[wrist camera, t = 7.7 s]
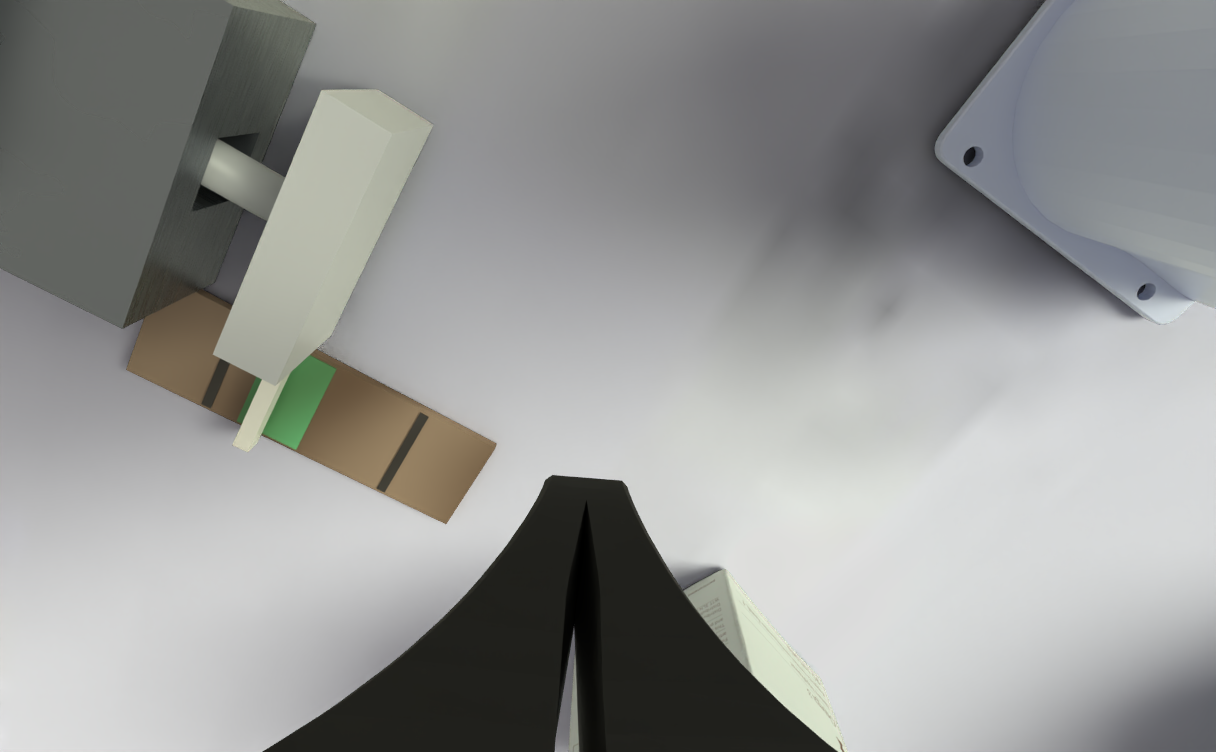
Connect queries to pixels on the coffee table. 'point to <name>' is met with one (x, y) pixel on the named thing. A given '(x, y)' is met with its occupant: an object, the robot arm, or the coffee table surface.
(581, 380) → the coffee table surface
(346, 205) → the gauge plunger
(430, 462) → the gauge scale
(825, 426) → the coffee table surface
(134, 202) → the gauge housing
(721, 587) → the supplement box
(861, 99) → the coffee table surface
